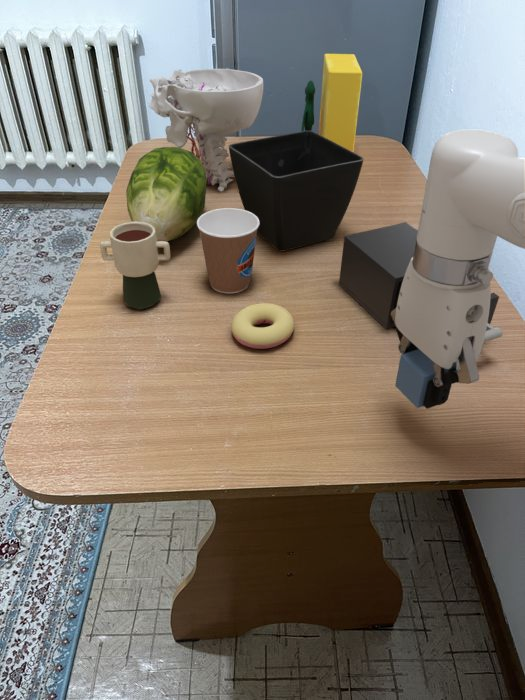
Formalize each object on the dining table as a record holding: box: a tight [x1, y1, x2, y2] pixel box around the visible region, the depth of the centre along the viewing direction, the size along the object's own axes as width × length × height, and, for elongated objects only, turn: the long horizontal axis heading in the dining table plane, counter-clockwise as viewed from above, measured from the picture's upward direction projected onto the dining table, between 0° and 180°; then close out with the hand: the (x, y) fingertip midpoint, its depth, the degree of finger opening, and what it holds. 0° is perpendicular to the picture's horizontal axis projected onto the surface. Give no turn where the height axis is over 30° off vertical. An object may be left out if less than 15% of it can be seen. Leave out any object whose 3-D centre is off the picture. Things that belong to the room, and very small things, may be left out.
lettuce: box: [125, 146, 208, 242], centre depth 110 cm, size 15×27×16 cm, turn 177°
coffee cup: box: [196, 207, 260, 295], centre depth 96 cm, size 10×10×12 cm
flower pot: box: [228, 130, 365, 252], centre depth 110 cm, size 19×19×17 cm
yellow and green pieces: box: [300, 53, 363, 152], centre depth 136 cm, size 18×12×24 cm
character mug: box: [99, 221, 171, 309], centre depth 92 cm, size 11×7×13 cm, turn 92°
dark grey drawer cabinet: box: [338, 222, 418, 330], centre depth 95 cm, size 15×13×10 cm
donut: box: [231, 302, 295, 350], centre depth 88 cm, size 10×5×9 cm
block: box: [394, 349, 449, 409], centre depth 68 cm, size 4×4×5 cm
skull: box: [149, 68, 264, 192], centre depth 127 cm, size 25×19×23 cm
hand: (421, 389), depth 69 cm, fingers closed on block, 4 cm apart
